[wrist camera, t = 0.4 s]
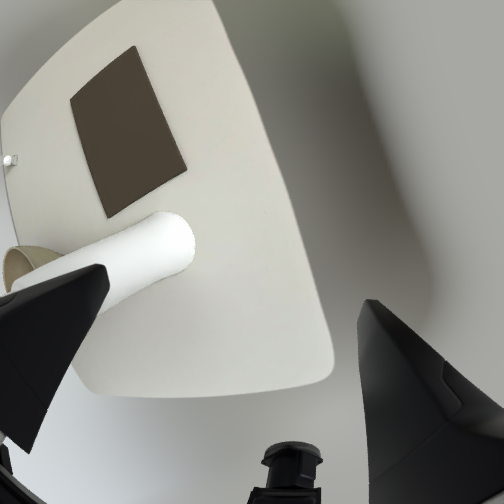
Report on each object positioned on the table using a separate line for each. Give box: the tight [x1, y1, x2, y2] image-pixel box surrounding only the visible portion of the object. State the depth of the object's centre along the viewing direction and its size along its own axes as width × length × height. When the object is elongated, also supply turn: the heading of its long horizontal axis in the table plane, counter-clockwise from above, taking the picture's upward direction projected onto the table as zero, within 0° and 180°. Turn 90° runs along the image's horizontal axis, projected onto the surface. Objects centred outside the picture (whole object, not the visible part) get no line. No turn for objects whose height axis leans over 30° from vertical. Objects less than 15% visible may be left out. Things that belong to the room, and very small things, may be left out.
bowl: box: [3, 246, 62, 293], centre depth 25 cm, size 10×10×7 cm
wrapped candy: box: [0, 155, 18, 166], centre depth 25 cm, size 2×2×3 cm
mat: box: [70, 46, 187, 218], centre depth 23 cm, size 16×10×1 cm, turn 25°
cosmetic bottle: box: [1, 211, 195, 317], centre depth 14 cm, size 6×6×22 cm
